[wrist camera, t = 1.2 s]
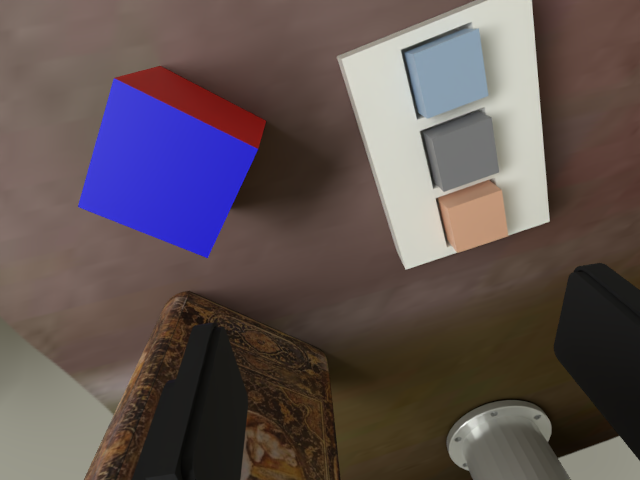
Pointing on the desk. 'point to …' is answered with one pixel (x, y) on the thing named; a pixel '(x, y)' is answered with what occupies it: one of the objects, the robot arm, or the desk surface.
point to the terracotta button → (473, 216)
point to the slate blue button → (447, 72)
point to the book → (262, 390)
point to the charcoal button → (461, 150)
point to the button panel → (407, 124)
